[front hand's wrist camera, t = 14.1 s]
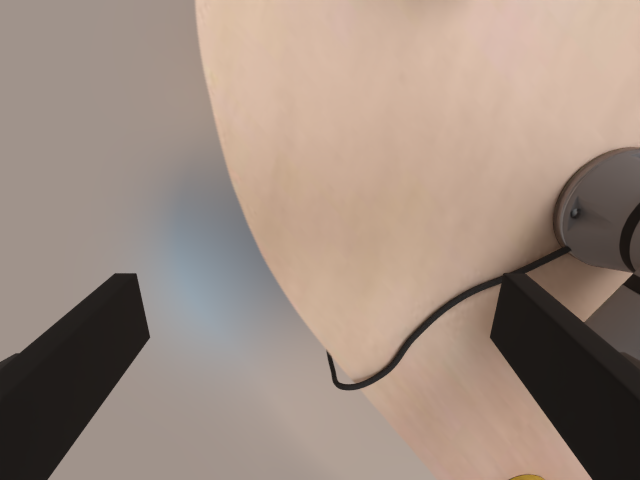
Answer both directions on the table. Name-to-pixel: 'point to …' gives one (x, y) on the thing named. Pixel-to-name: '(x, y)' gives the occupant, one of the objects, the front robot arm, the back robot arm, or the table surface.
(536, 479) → the tin
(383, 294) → the table surface
